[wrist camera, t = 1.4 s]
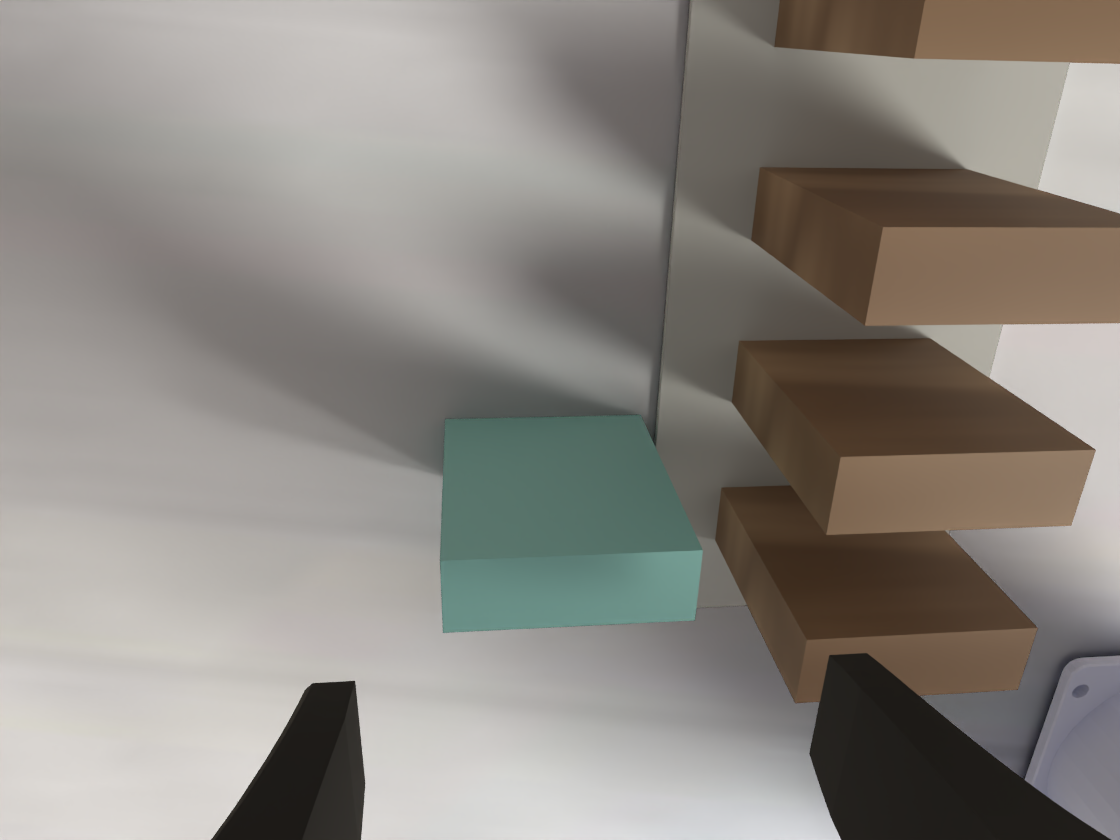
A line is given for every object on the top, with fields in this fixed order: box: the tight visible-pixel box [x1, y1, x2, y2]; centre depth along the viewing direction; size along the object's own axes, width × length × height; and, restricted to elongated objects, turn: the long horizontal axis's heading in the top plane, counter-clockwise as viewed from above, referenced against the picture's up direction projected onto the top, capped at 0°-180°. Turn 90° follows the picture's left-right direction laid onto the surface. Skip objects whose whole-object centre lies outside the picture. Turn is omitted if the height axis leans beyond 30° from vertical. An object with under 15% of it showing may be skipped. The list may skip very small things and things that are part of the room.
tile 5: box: [440, 415, 703, 633], centre depth 18 cm, size 2×5×6 cm, turn 89°
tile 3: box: [751, 167, 1120, 326], centre depth 16 cm, size 2×5×6 cm, turn 88°
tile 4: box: [774, 0, 1120, 64], centre depth 15 cm, size 2×5×6 cm, turn 88°
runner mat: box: [654, 0, 1070, 608], centre depth 19 cm, size 22×8×1 cm, turn 178°
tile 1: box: [715, 485, 1038, 703], centre depth 20 cm, size 2×5×6 cm, turn 88°
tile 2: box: [732, 338, 1096, 535], centre depth 18 cm, size 2×5×6 cm, turn 89°
